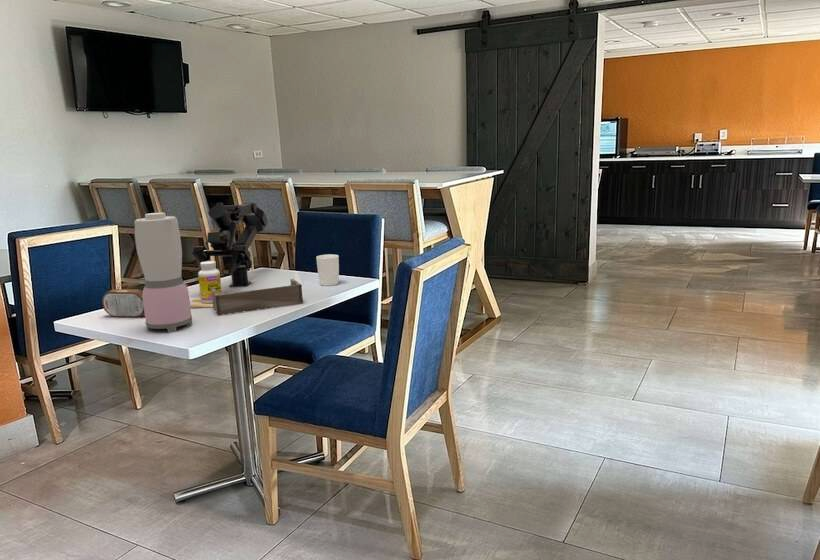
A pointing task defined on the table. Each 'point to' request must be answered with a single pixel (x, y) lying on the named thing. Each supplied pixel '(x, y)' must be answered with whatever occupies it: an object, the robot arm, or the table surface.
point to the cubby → (257, 299)
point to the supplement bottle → (209, 281)
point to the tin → (124, 303)
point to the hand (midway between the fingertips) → (216, 274)
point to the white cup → (328, 269)
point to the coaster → (199, 303)
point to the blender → (162, 272)
